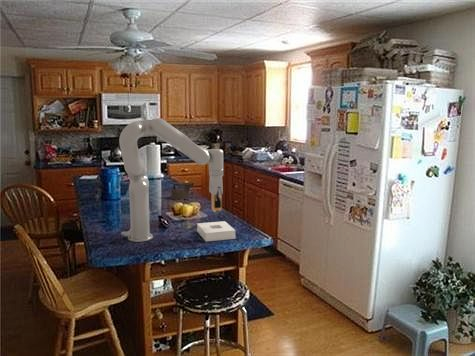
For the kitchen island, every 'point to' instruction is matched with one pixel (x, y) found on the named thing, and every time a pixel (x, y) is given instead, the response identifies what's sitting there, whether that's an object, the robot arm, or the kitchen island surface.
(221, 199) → the plug
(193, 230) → the kitchen island surface
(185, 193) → the clothes iron
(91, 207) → the kitchen island surface
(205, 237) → the socket block
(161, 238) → the kitchen island surface
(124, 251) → the kitchen island surface
